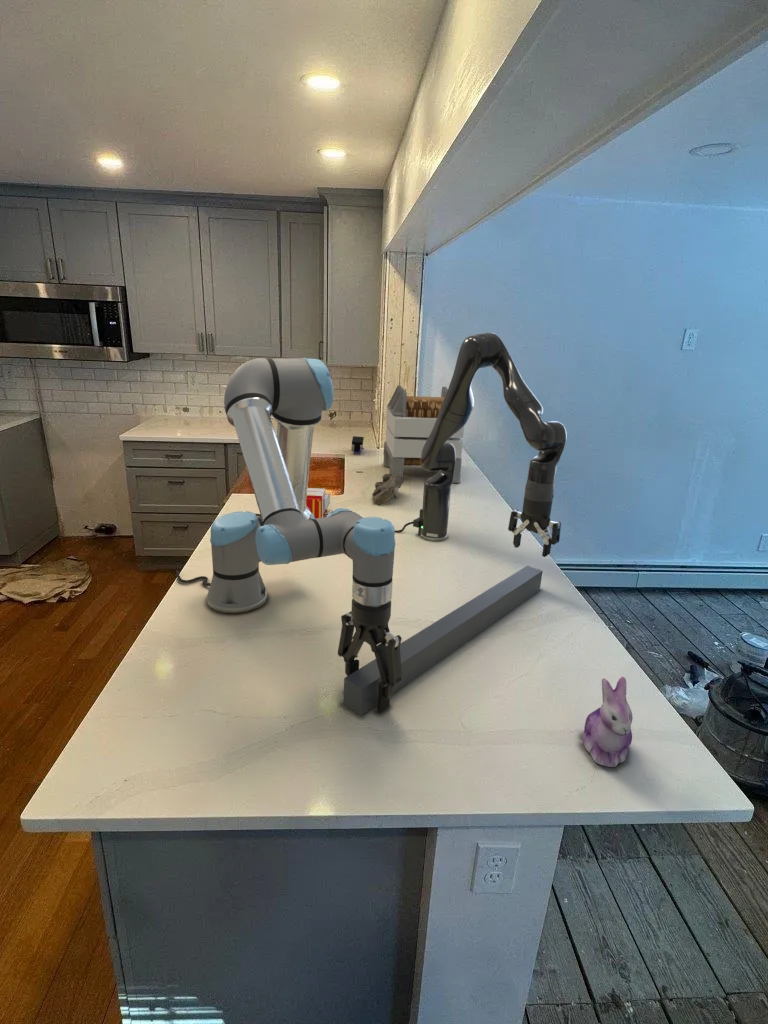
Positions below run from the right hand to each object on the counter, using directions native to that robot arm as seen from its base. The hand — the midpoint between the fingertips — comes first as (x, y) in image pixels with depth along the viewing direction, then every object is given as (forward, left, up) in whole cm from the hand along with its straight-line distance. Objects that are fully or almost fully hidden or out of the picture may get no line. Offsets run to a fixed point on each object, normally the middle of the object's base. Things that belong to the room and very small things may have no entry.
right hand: (530, 551), depth 158 cm
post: (-4, -33, -13) cm, 35 cm away
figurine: (+36, -50, -13) cm, 63 cm away
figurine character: (-136, +96, -13) cm, 167 cm away
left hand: (-7, -66, -13) cm, 67 cm away
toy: (-84, +2, -13) cm, 85 cm away
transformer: (-89, +85, -13) cm, 123 cm away
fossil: (-79, +43, -13) cm, 91 cm away
